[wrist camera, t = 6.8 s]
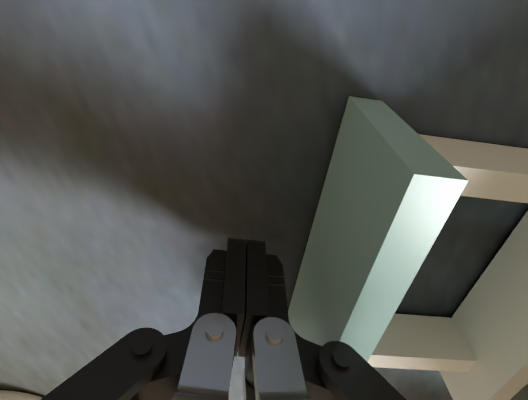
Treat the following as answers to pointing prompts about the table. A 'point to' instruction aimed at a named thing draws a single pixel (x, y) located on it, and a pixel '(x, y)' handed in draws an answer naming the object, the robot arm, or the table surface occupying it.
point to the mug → (17, 395)
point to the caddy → (414, 255)
